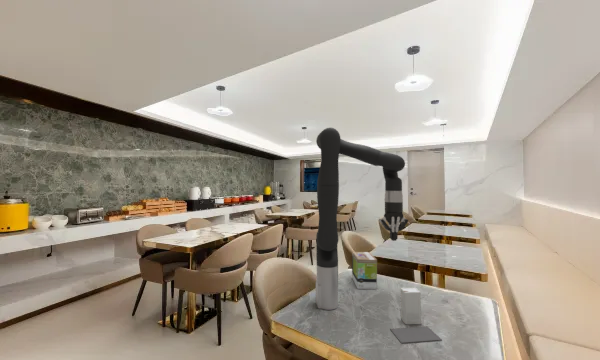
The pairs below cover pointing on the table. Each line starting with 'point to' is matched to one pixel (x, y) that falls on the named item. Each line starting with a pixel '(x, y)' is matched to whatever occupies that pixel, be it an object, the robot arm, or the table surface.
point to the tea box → (364, 270)
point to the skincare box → (410, 306)
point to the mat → (415, 334)
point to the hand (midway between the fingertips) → (393, 240)
